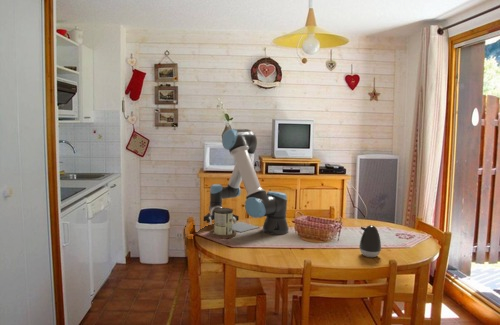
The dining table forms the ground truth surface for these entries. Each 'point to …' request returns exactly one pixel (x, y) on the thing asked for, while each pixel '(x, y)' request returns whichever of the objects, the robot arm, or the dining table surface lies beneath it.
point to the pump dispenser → (370, 242)
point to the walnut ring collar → (223, 235)
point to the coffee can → (223, 221)
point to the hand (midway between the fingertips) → (223, 222)
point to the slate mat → (243, 227)
